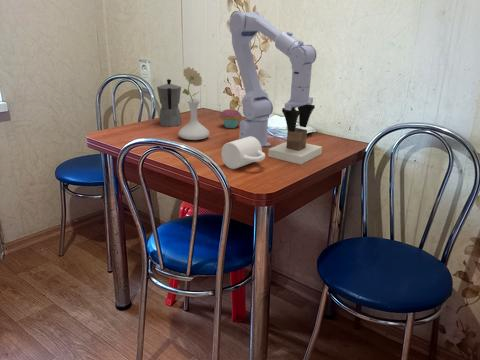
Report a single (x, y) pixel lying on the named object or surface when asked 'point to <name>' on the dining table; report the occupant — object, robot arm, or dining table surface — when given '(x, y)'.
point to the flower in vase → (193, 110)
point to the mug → (242, 152)
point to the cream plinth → (295, 153)
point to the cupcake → (230, 117)
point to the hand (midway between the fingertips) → (297, 129)
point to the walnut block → (296, 139)
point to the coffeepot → (169, 104)
